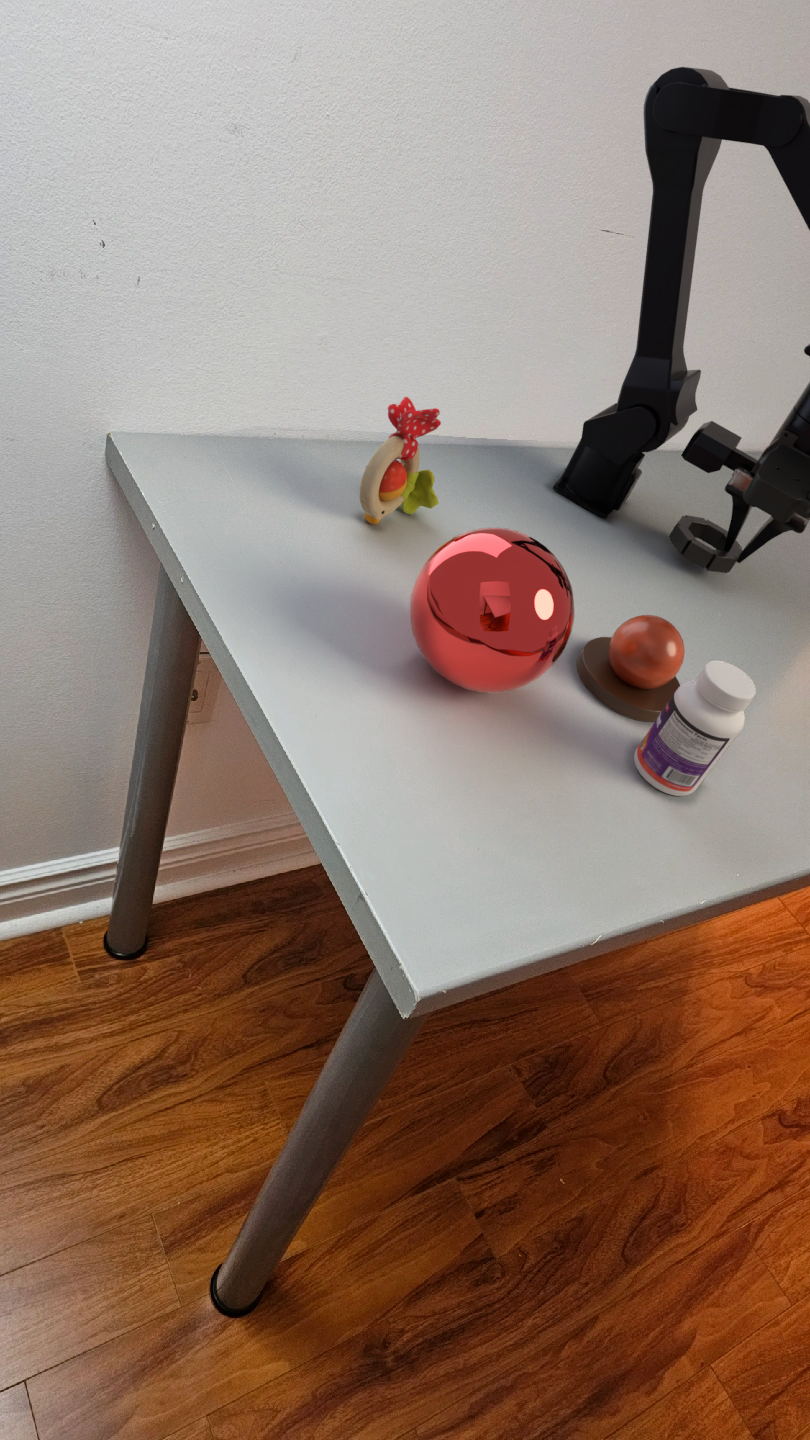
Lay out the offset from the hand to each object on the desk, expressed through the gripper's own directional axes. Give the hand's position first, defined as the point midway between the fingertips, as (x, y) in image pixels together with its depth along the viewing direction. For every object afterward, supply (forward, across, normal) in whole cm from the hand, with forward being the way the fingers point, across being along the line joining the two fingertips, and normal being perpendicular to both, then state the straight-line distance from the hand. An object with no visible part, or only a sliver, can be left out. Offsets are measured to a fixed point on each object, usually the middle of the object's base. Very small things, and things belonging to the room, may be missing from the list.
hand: (731, 557), depth 106 cm
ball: (+3, -13, -38) cm, 40 cm away
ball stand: (+2, -2, -27) cm, 27 cm away
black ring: (+1, -3, 0) cm, 3 cm away
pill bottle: (+3, +4, -35) cm, 35 cm away
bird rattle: (+3, -28, -24) cm, 37 cm away
